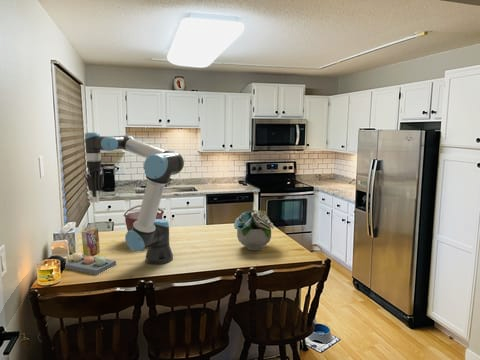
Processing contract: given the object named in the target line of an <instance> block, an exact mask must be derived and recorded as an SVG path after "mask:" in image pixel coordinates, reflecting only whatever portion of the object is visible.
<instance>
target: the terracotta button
mask: <svg viewBox="0 0 480 360" xmlns="http://www.w3.org/2000/svg"><path fill="white" fill-rule="evenodd" d="M94 257H95V256H94V255H93V256H87V257H84V264H87V265H90V264H92V263H94Z"/></svg>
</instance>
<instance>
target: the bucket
mask: <svg viewBox="0 0 480 360" xmlns="http://www.w3.org/2000/svg"><path fill="white" fill-rule="evenodd" d="M141 205H142V204H138V205H135V206H133V207H131V208H129V209H127V210H126V211H125V212H124V214H123V217H125V218H124V219H125V220H124V222H125V226H126V229H127V232H128V231H130V230H132V227H133V223H134V222H135V221H137V220H138V216H139V212H140V210H139V211H133V212H130V211H132V210H134V209H137V208H141ZM128 212H129V213H128ZM164 213H165V211H164V210H162V209H161V208H160V207H159V208H158V211H157V215H156V218H155V219H163V215H164Z"/></svg>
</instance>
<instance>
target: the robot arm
mask: <svg viewBox="0 0 480 360" xmlns="http://www.w3.org/2000/svg"><path fill="white" fill-rule="evenodd" d="M84 145H85V157H86V159H85V160H86V168H87V172H86V174H84V175H83V176H84V178H85V181H86V184H87V187H88V191H91V193H92V195H91V196H92V198H93V203H97V204H98V203H100V191H101V190H102V189H103V182H104V176H105V171H102V161H101V160H102V154H101V151H105V152H106V151H107V152H108V151H109V152H110V151H111V152H112V151H115V150H117V151H118V150H124V151H126V152H129V153H132V154H135V155H136V156H139V157H142V158H145V161H144V163H143V170H144V174H145V178H146V180H147V183H146V187H145V191H144V194H143V198H142V201H141V204H140V205H141V207H140V209H139V211H140V212H139V216H138V220H137V221H135V222H134V223H133V227H132V230H130V231H128V230H127V232H126V233H125V236H124V239H125V243H126V244H127V247H128V248H129V249H130V250H131V251H133V252H140V251H143V250H146V251H147V252H146V254H145V262H146V263H147V264H152V265H164V264H168V263H169V262H171V261H173V259H174V254H173V252H172V249H171V246H170V226H169V225H170V223H169V221H168V220H167V219H164V218H162V219H155V218H156V215H157V212H159V210H158V208H160V203H161V200H162V197H163V193H164V190H165V186H166V185H167V184H169V182H170V180H171V176H174V175H177V174H179V173H180V172H182V170H183V169H184V166H185V159H184V157H183V156H182V154H180V153H179V152H177V151H174V150H170V149H165V150H164V149H163V148H159V147H156V146H154V145H151V144H148V143H146V142H143V141H139V140H138V139H137V140H136V139H134V137H133V136H131V135H127V134H126V135H113V136H110V135H107V136H100V133H99V132H86V133H84Z"/></svg>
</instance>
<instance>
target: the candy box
mask: <svg viewBox="0 0 480 360" xmlns="http://www.w3.org/2000/svg"><path fill="white" fill-rule="evenodd" d="M81 240H82V241H81V243H82V250H83V251H82V255H87V256H93V257H94V256H95V255H98V254H100V253H101V250H100V249H101V248H100V238H99V228H98V227H91V228H88V229H85V230H82V231H81Z"/></svg>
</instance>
